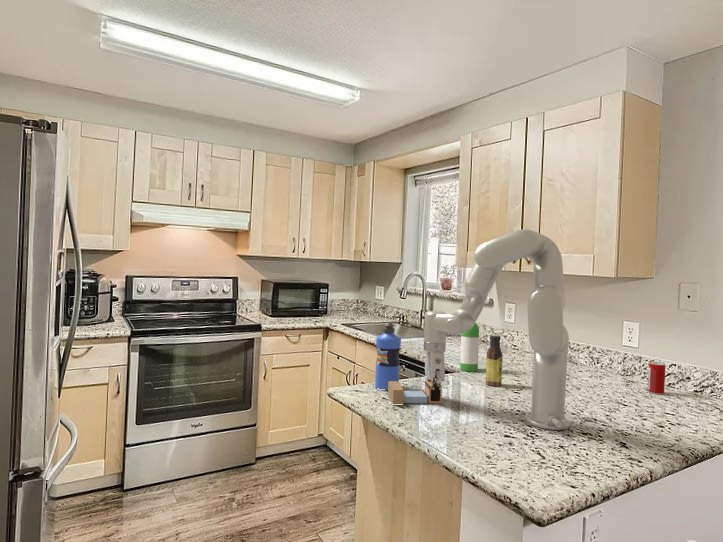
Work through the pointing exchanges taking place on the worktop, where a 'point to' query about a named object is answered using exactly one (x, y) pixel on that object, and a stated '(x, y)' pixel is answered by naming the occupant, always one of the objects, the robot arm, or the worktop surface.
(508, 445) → the worktop surface
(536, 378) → the robot arm
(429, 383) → the stub
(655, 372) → the soda can
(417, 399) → the tan blue stepped block
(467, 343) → the wine bottle
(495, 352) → the sauce bottle
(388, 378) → the water bottle
